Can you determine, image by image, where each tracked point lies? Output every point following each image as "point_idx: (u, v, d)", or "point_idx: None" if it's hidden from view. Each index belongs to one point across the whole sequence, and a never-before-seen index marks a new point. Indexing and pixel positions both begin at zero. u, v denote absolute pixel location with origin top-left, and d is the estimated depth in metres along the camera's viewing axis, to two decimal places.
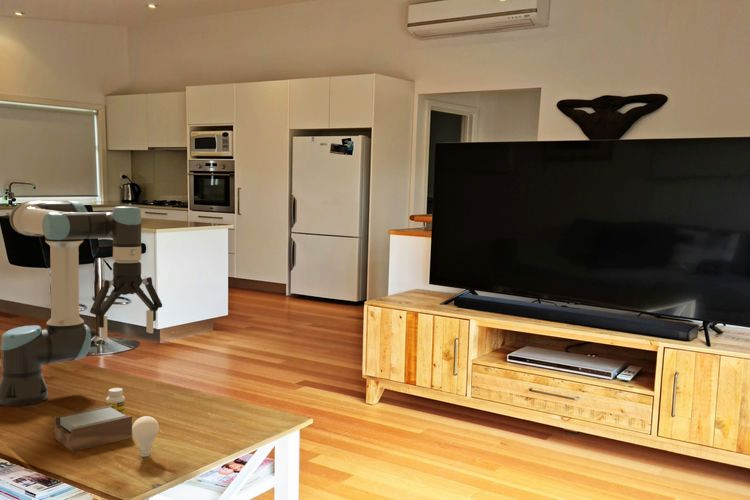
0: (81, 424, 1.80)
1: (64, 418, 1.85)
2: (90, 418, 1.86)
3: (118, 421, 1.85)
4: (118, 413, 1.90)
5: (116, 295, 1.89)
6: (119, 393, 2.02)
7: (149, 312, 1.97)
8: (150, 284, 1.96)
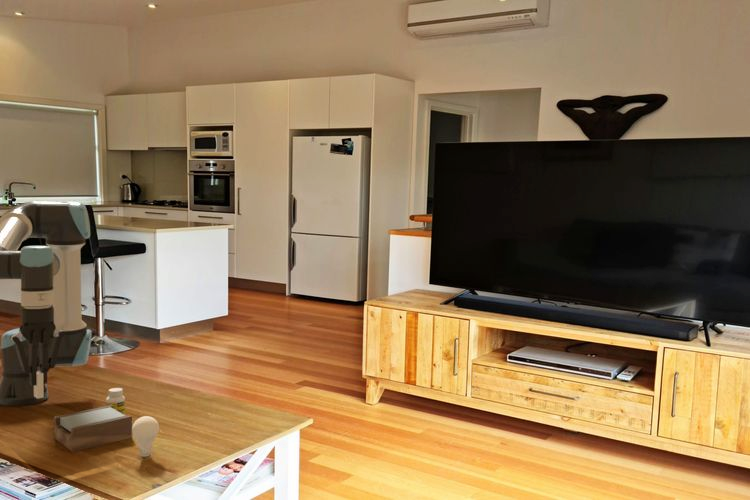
0: (81, 424, 1.80)
1: (64, 418, 1.85)
2: (90, 418, 1.86)
3: (118, 421, 1.85)
4: (118, 413, 1.90)
5: (34, 347, 1.73)
6: (119, 393, 2.02)
7: None
8: (59, 338, 1.77)
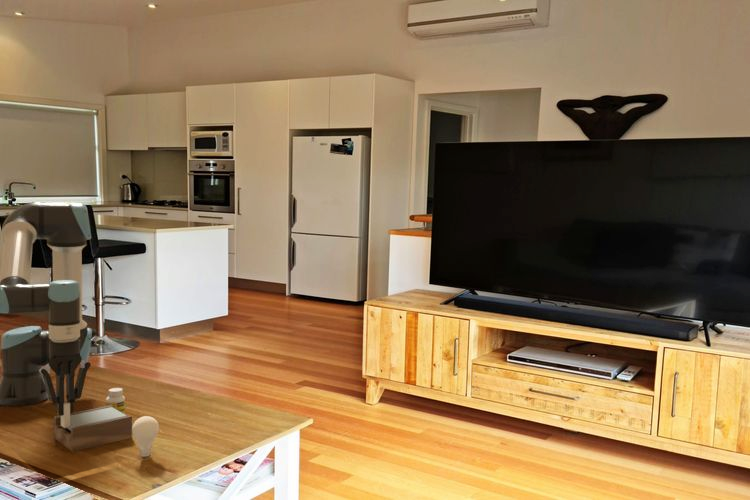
0: (82, 424, 1.80)
1: None
2: (92, 417, 1.86)
3: (118, 421, 1.85)
4: (119, 413, 1.90)
5: (61, 379, 1.79)
6: (119, 393, 2.02)
7: None
8: (85, 369, 1.83)
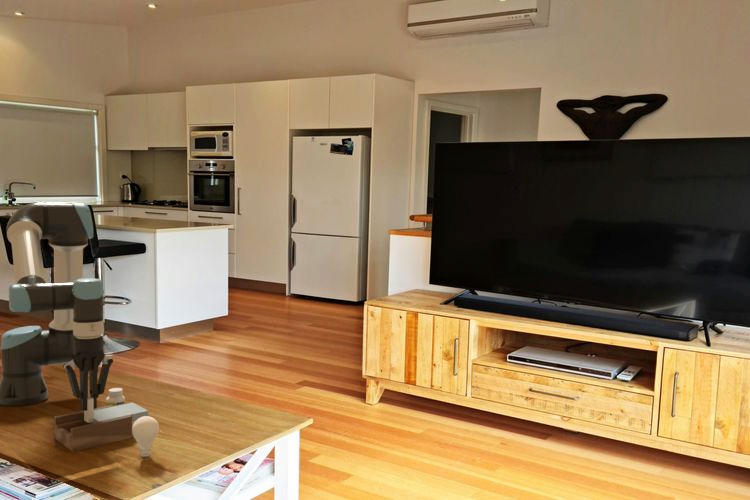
0: (105, 419, 1.85)
1: None
2: (114, 413, 1.90)
3: (118, 421, 1.85)
4: (140, 408, 1.94)
5: (85, 374, 1.83)
6: (119, 393, 2.02)
7: None
8: (108, 366, 1.87)
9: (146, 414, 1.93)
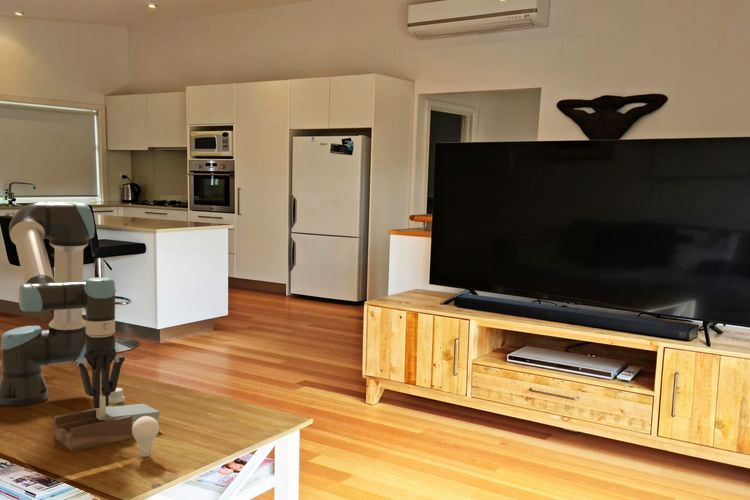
0: (118, 415, 1.87)
1: None
2: (126, 411, 1.93)
3: (118, 421, 1.85)
4: (152, 409, 1.97)
5: (97, 372, 1.85)
6: (119, 393, 2.02)
7: None
8: (119, 364, 1.90)
9: (157, 415, 1.95)
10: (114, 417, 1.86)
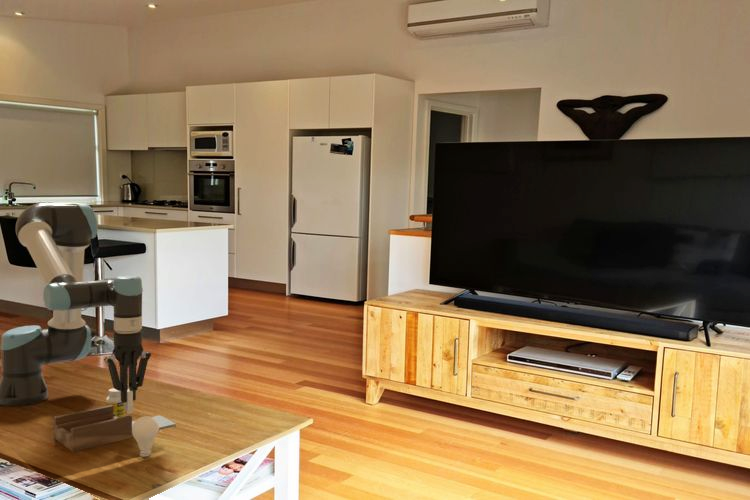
0: None
1: None
2: None
3: (118, 421, 1.85)
4: (168, 421, 2.01)
5: (125, 368, 1.91)
6: (119, 393, 2.02)
7: None
8: (146, 359, 1.95)
9: None
10: (132, 434, 1.90)
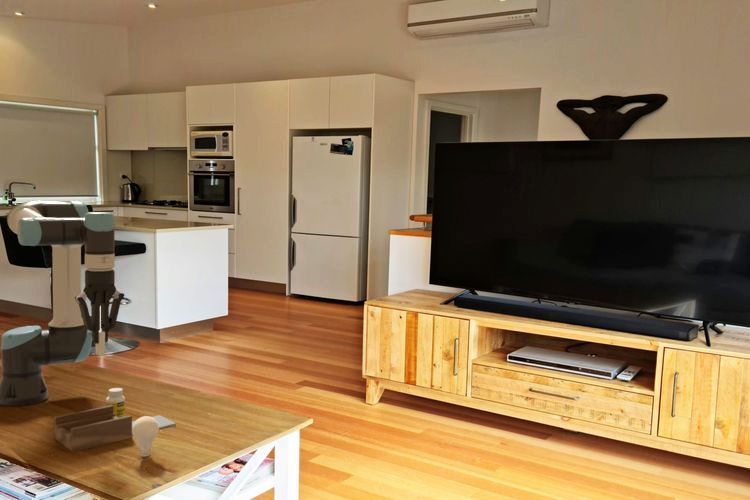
0: None
1: None
2: None
3: (118, 421, 1.85)
4: (168, 421, 2.01)
5: (97, 307, 1.84)
6: (119, 393, 2.02)
7: None
8: (119, 300, 1.88)
9: (174, 426, 1.99)
10: (132, 434, 1.90)
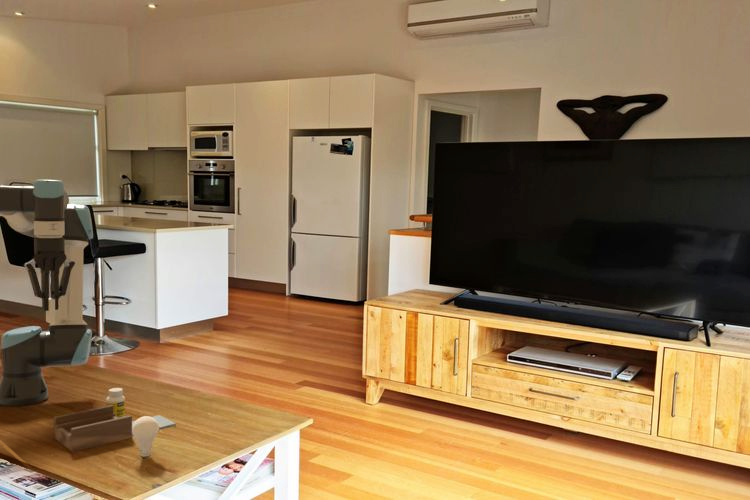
0: None
1: None
2: None
3: (118, 421, 1.85)
4: (168, 421, 2.01)
5: (46, 274, 1.84)
6: (119, 393, 2.02)
7: None
8: (69, 268, 1.89)
9: None
10: (132, 434, 1.90)
